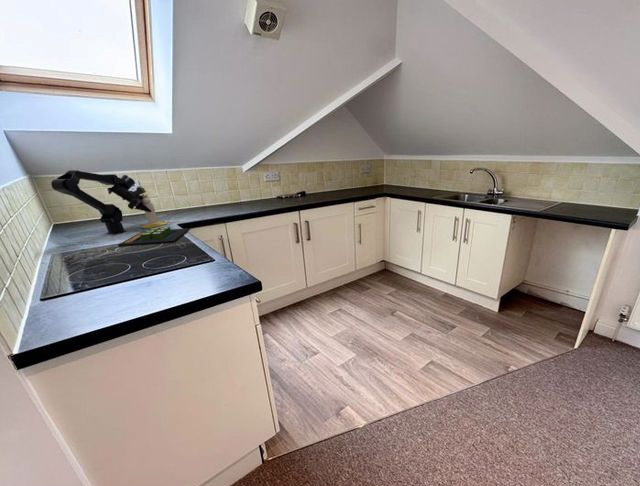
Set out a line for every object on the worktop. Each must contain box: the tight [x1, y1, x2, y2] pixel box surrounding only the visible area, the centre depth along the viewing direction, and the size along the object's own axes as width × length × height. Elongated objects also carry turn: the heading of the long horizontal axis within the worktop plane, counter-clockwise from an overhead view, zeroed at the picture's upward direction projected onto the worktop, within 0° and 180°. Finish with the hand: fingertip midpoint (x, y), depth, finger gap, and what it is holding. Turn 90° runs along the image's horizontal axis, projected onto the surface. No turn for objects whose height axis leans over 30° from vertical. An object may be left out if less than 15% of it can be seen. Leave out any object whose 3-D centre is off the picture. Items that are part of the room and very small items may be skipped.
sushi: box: [118, 226, 191, 247], centre depth 160 cm, size 25×25×4 cm
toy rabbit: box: [141, 193, 159, 224], centre depth 180 cm, size 5×5×17 cm
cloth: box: [140, 221, 169, 229], centre depth 185 cm, size 12×8×1 cm, turn 154°
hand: (152, 210), depth 181 cm, fingers closed on toy rabbit, 5 cm apart
